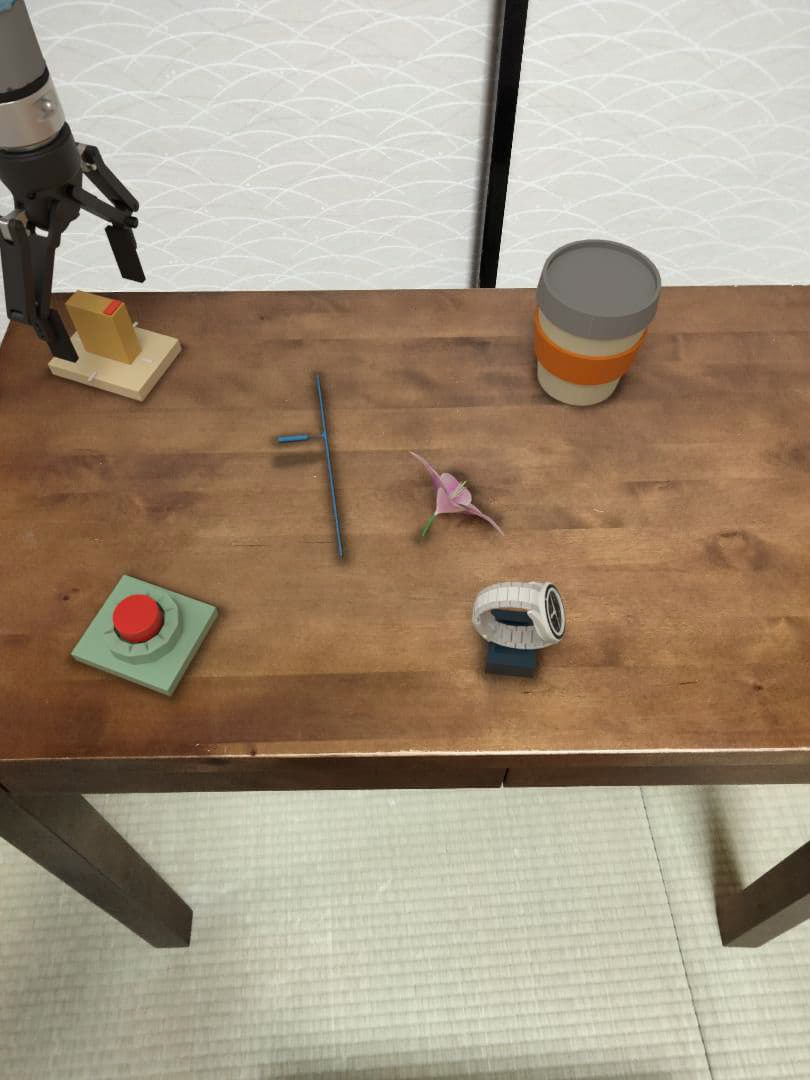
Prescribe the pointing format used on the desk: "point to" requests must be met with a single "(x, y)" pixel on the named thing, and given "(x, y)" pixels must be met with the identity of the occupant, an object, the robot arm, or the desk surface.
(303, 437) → the blue squeegee
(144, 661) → the green button mount
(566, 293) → the reusable coffee cup
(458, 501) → the lily
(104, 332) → the thumbturn
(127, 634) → the bell button
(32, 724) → the desk surface
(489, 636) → the watch
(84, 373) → the plate
